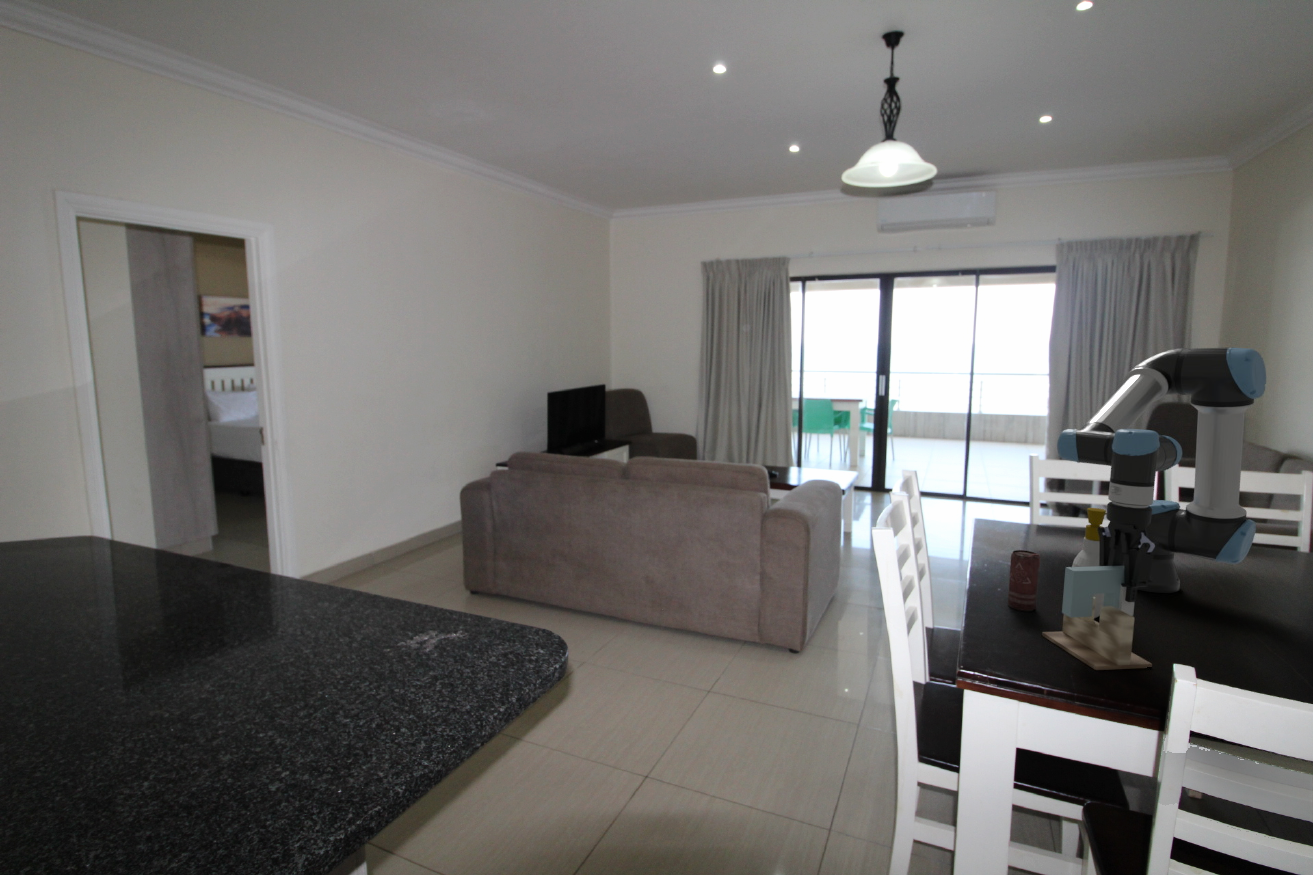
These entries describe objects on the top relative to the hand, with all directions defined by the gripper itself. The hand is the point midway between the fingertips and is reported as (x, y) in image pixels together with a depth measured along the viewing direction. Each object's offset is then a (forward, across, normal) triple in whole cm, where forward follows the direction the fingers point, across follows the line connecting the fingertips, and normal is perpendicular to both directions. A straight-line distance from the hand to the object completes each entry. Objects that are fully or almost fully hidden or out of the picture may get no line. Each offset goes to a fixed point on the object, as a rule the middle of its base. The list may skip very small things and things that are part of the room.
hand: (1119, 611), depth 136 cm
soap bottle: (+9, -19, +9) cm, 23 cm away
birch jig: (+9, 0, -5) cm, 10 cm away
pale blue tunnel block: (0, 0, -5) cm, 5 cm away
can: (+9, -24, -5) cm, 26 cm away
